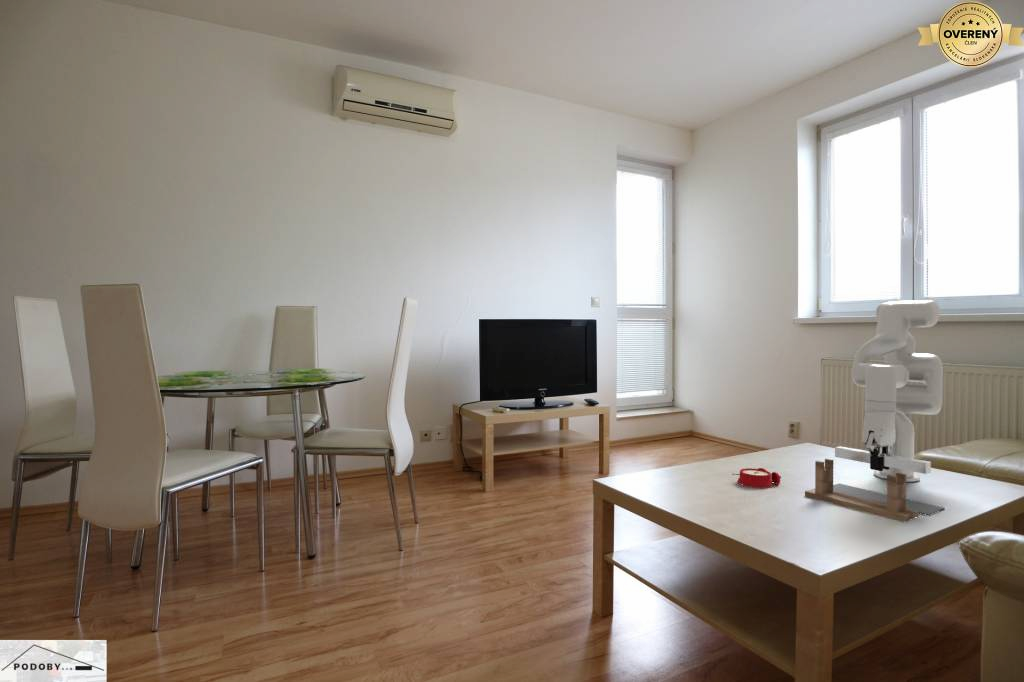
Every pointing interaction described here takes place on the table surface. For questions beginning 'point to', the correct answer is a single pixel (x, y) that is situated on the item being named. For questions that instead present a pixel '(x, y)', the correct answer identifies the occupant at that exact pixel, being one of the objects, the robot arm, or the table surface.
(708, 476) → the table surface
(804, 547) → the table surface
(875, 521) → the table surface
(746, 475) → the alarm clock
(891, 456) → the steel rail
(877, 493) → the rubber mat
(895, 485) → the walnut rail stand
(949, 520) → the table surface
